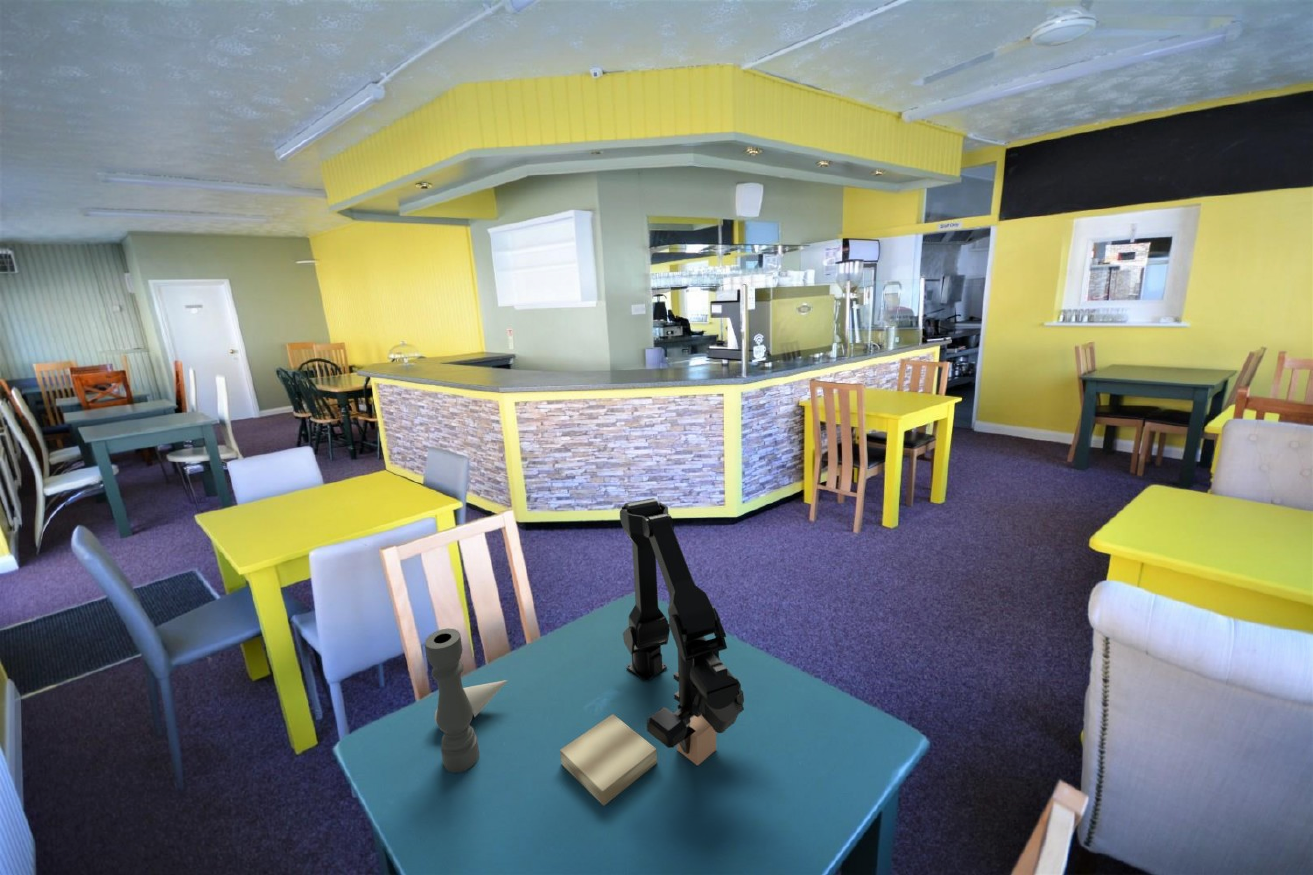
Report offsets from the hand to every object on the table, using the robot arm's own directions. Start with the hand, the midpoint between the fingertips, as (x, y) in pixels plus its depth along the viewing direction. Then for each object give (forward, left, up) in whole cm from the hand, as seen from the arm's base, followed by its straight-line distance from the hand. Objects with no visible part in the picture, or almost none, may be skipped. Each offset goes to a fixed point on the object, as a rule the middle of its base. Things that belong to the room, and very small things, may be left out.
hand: (696, 743), depth 103 cm
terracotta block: (0, 0, -1) cm, 1 cm away
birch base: (-9, -13, -1) cm, 16 cm away
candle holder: (-29, -31, -1) cm, 42 cm away
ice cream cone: (-38, -24, -2) cm, 45 cm away
